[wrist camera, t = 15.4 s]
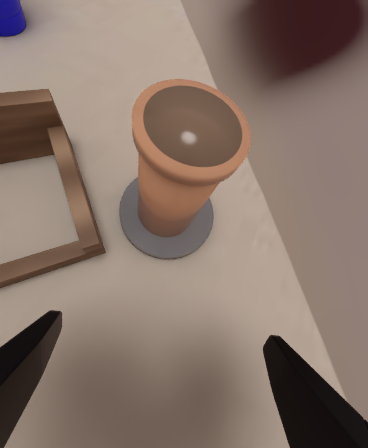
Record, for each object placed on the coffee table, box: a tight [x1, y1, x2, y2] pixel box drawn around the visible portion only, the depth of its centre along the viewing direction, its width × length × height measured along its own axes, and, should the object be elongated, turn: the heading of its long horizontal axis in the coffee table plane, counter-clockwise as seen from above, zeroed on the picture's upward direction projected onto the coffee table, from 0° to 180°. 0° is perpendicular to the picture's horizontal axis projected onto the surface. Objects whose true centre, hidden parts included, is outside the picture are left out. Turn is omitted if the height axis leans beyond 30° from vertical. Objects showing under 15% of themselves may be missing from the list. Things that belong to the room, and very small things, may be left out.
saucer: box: [120, 178, 213, 259], centre depth 25 cm, size 11×11×1 cm
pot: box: [132, 79, 251, 237], centre depth 18 cm, size 7×7×13 cm
